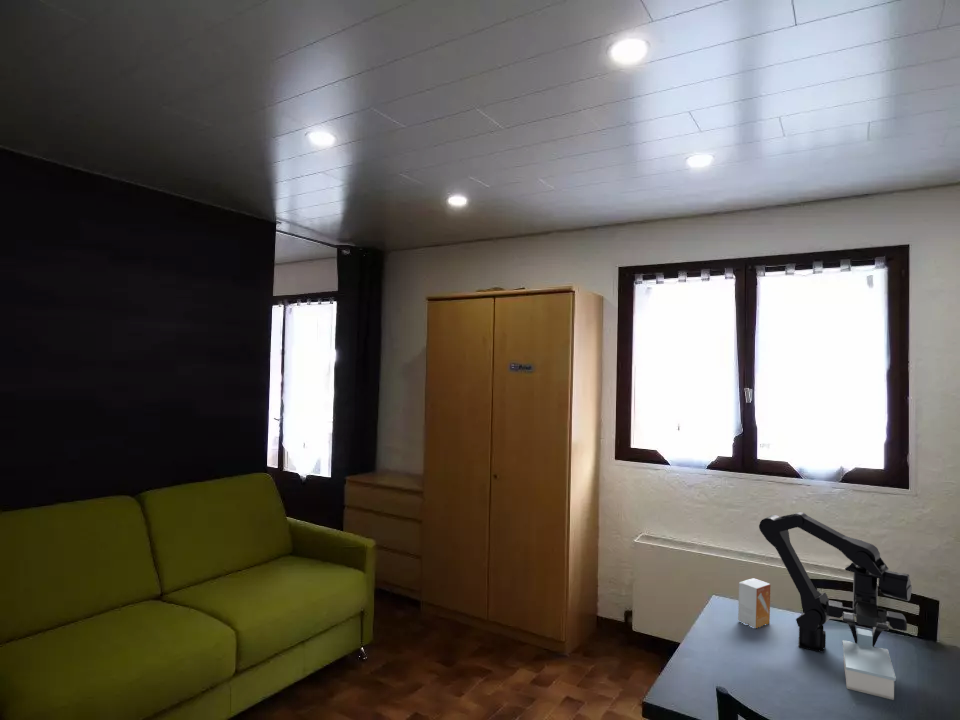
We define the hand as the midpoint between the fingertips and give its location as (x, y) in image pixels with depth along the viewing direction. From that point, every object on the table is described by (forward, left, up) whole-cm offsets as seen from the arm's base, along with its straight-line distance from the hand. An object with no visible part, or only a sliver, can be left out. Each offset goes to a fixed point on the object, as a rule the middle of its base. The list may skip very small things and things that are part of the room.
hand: (864, 645), depth 165 cm
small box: (-29, +12, -5) cm, 32 cm away
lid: (0, -8, 0) cm, 8 cm away
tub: (0, -10, -5) cm, 11 cm away
